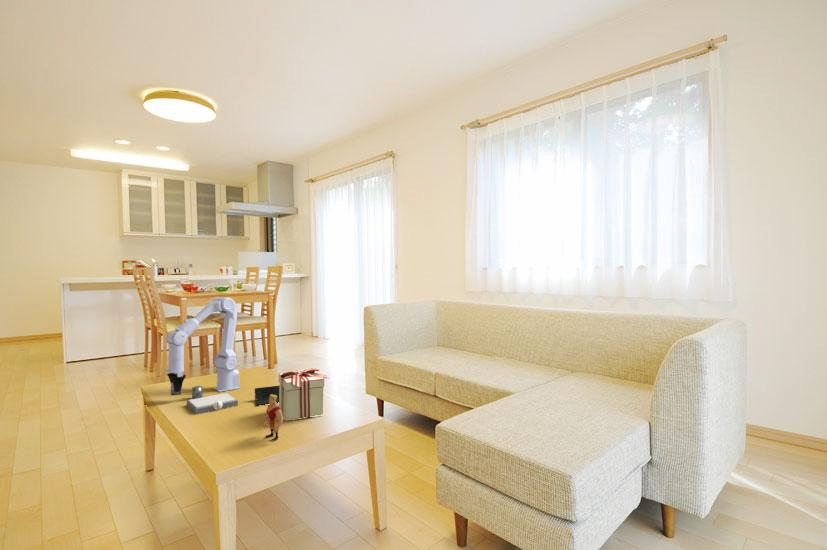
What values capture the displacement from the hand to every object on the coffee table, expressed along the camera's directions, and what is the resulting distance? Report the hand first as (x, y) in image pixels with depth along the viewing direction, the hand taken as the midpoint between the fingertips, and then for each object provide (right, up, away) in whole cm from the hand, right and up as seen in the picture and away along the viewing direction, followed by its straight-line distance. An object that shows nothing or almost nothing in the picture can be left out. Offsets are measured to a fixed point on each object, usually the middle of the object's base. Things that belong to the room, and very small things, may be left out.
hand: (176, 390), depth 175 cm
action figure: (+55, -5, -38) cm, 67 cm away
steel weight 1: (0, -2, 0) cm, 2 cm away
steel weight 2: (+7, -5, +5) cm, 9 cm away
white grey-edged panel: (+18, -5, -5) cm, 19 cm away
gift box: (+59, -6, -14) cm, 61 cm away
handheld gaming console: (+40, -6, +1) cm, 40 cm away
